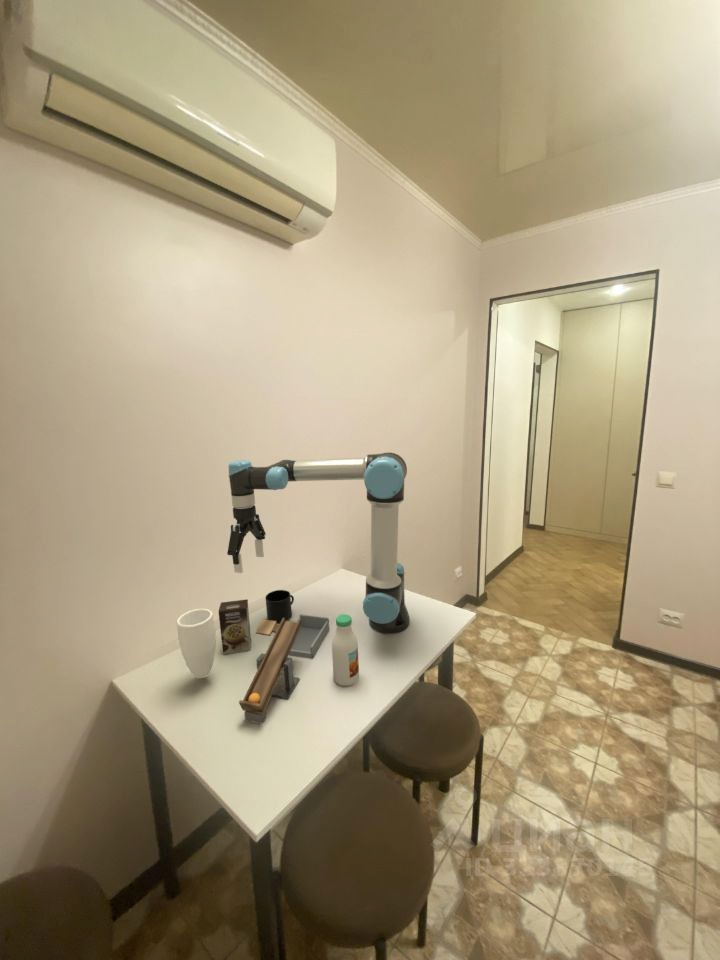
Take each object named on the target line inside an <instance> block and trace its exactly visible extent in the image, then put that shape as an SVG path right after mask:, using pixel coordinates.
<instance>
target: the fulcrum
mask: <svg viewBox="0 0 720 960" xmlns="http://www.w3.org/2000/svg"><path fill="white" fill-rule="evenodd" d="M265 654H266V653H260V655H259V656H258V657H257V658H256V669H257V670H258V668H259V666H260V664H261V662H262V660H263V658H264V656H265ZM293 661H294V660H293V657H289V656H288V658H287V660H286V661H285V663H284V664H283V665H284V668H283V674H280V677H279V679H278V681H277V684H276V686H275V688H274V691H273V693H272V695H271V698H277V699H282V700H289V699H290V697H291V695H292V694H293V692H294V690H295V689H296V687H297V685H298V683H299V681H300V677H299V676H295V674H294V662H293ZM257 670H256V671H257Z"/></svg>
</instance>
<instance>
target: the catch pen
mask: <svg viewBox="0 0 720 960" xmlns="http://www.w3.org/2000/svg"><path fill="white" fill-rule="evenodd" d="M298 620H300V621H301V624H302V625H301V627H300V630H299V632H298V634H297V637H296V639H295V641H294V644H293V646H292V648H291V651H290V653H289V655H288V656H294V657H295V656H296V657H301V658H309V659H314V657H315V656H316V655H317V652H318V650H319V649H320V647H321V645H322V644H323V641H324V640H325V638H326V637H327V634H328V633H329V632H330V619H329V617H325V616H319V615H318V616H317V615H308V614H299V618H298V619H297V620H296V622H298Z"/></svg>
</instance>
